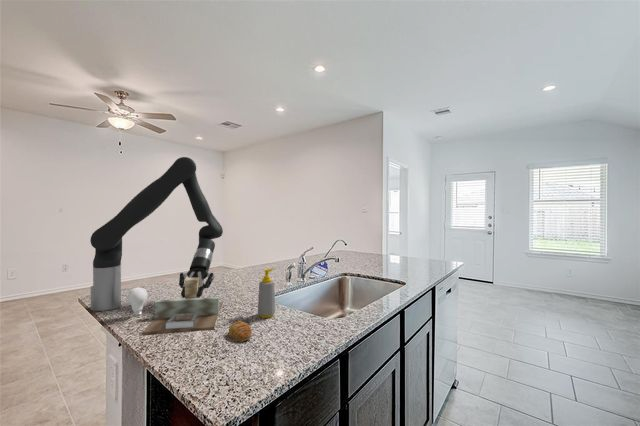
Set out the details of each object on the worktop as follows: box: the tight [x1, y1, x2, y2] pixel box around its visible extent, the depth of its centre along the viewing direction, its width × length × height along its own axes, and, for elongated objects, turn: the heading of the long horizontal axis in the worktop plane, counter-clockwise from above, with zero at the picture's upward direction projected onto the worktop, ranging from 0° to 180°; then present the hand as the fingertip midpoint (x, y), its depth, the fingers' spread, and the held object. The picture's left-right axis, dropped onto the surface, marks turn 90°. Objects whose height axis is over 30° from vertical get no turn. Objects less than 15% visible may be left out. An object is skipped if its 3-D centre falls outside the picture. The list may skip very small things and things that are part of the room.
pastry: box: [228, 320, 253, 343], centre depth 93 cm, size 9×7×4 cm
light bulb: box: [126, 287, 149, 316], centre depth 109 cm, size 7×7×11 cm
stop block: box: [184, 277, 200, 299], centre depth 115 cm, size 4×4×12 cm
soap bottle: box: [257, 267, 276, 319], centre depth 111 cm, size 7×7×18 cm
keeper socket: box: [166, 313, 198, 330], centre depth 100 cm, size 8×8×2 cm
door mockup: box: [141, 296, 224, 336], centre depth 108 cm, size 22×26×7 cm
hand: (190, 296), depth 113 cm, fingers closed on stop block, 5 cm apart
